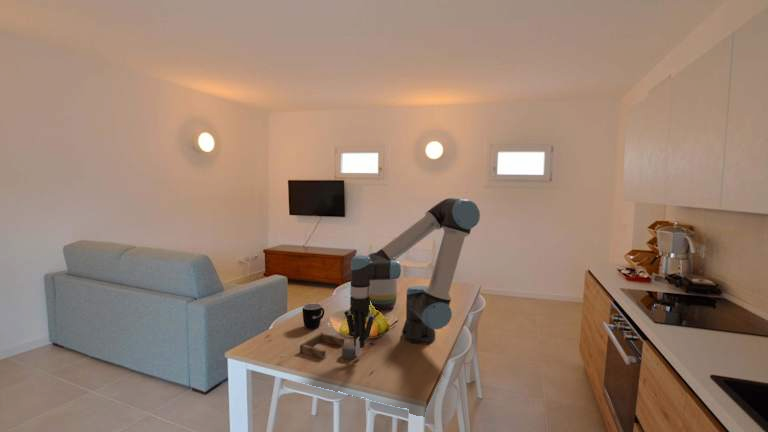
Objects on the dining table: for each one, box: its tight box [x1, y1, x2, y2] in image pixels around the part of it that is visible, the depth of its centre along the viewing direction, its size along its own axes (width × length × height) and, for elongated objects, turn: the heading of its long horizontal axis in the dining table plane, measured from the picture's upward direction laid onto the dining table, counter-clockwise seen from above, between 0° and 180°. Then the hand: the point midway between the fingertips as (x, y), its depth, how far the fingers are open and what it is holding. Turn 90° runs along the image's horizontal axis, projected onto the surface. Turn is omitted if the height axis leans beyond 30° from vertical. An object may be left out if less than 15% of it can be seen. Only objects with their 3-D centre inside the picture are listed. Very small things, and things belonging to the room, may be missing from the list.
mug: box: [302, 302, 325, 330], centre depth 172 cm, size 12×9×10 cm
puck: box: [341, 344, 358, 361], centre depth 143 cm, size 6×6×4 cm
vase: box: [369, 279, 398, 310], centre depth 202 cm, size 17×17×24 cm
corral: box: [299, 332, 345, 360], centre depth 149 cm, size 12×14×3 cm
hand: (359, 354), depth 140 cm, fingers closed
